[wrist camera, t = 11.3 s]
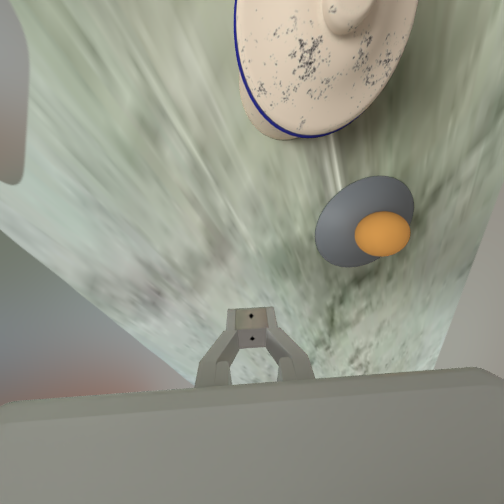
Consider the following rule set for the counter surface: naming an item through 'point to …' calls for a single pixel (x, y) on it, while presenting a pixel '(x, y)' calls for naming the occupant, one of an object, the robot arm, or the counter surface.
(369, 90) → the teacup with lid
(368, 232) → the ball
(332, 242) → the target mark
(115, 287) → the counter surface
